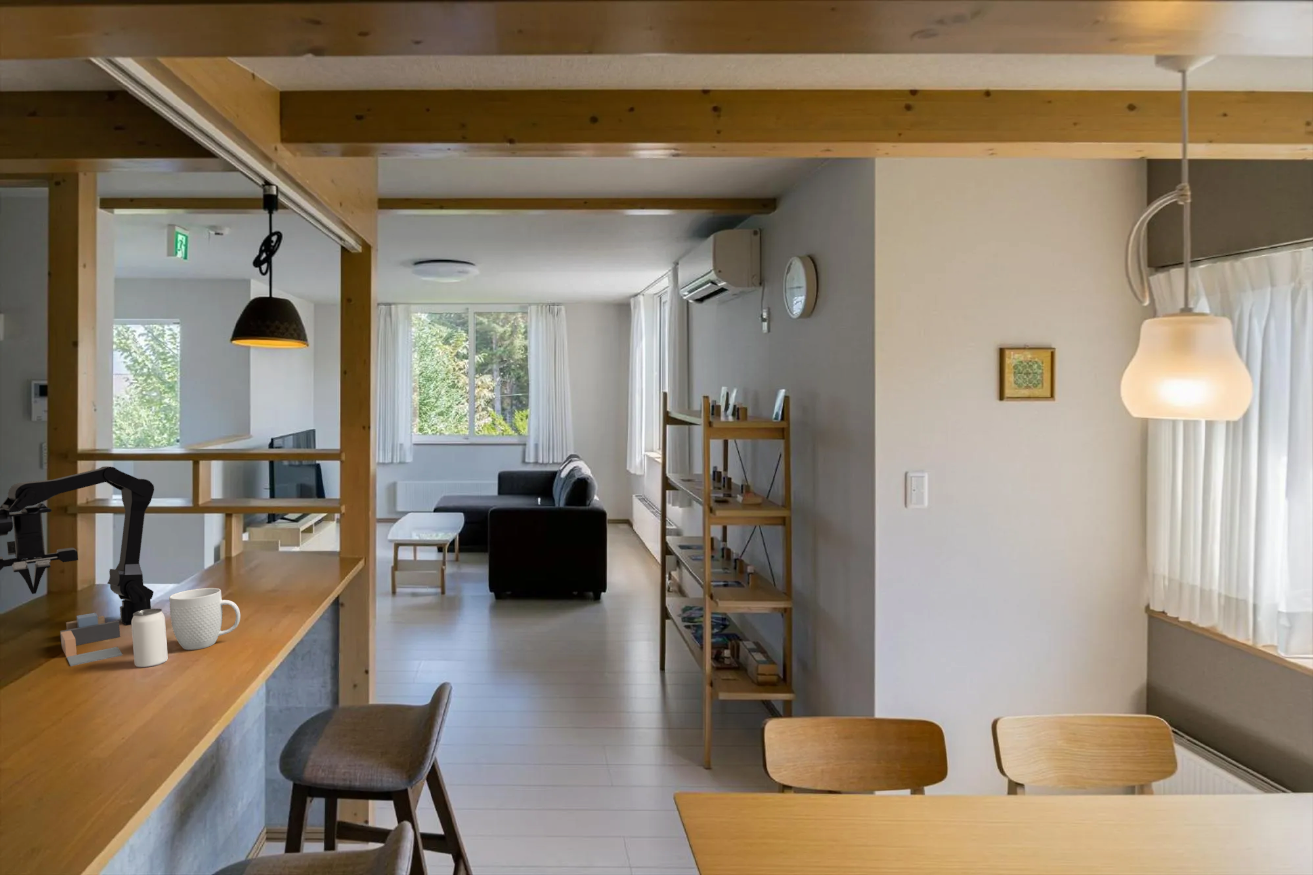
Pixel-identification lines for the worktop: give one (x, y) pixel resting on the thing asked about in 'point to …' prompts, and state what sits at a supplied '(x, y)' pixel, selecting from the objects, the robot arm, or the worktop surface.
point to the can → (149, 638)
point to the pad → (94, 656)
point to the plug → (87, 620)
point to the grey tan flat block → (88, 635)
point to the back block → (74, 623)
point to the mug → (199, 617)
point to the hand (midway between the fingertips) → (33, 593)
